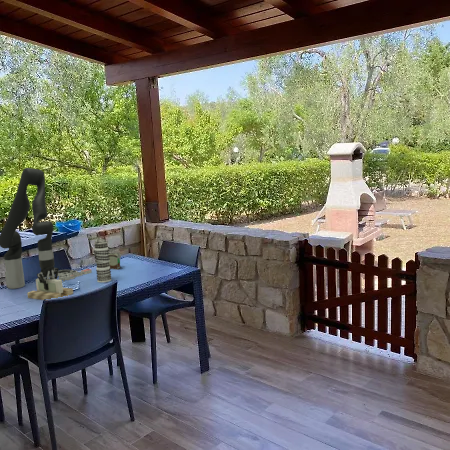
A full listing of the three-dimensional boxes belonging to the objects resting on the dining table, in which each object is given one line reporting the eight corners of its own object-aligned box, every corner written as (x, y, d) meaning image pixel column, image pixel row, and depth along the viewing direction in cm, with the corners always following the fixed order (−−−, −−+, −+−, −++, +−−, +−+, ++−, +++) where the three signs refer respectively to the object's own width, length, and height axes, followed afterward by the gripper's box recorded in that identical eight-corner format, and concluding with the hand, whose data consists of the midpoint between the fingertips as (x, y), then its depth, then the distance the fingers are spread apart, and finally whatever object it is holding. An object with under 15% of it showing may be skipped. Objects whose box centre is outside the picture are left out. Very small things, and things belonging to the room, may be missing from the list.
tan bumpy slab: (27, 298, 246) (27, 292, 246) (46, 290, 258) (45, 285, 257) (55, 301, 238) (55, 295, 237) (73, 293, 250) (72, 288, 249)
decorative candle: (95, 283, 268) (91, 242, 264) (97, 279, 277) (93, 239, 273) (111, 281, 270) (107, 240, 266) (112, 277, 279) (109, 237, 275)
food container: (126, 267, 302) (124, 253, 300) (119, 270, 297) (118, 255, 295) (112, 266, 308) (111, 251, 307) (106, 268, 303) (104, 253, 302)
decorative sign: (63, 278, 276) (46, 273, 288) (63, 282, 276) (46, 277, 289) (94, 269, 292) (76, 266, 305) (94, 273, 293) (77, 269, 305)
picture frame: (36, 291, 249) (35, 279, 248) (41, 289, 252) (40, 277, 251) (58, 294, 243) (57, 281, 241) (63, 292, 246) (62, 279, 245)
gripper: (41, 261, 236) (45, 293, 239) (61, 255, 249) (64, 285, 252) (30, 260, 240) (34, 292, 242) (51, 254, 252) (54, 284, 255)
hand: (49, 288), depth 247 cm, fingers closed on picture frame, 3 cm apart
